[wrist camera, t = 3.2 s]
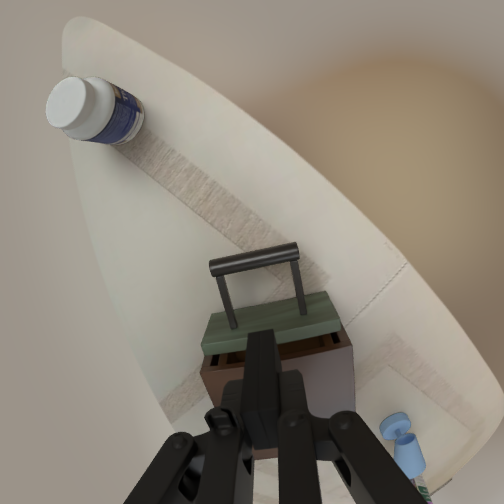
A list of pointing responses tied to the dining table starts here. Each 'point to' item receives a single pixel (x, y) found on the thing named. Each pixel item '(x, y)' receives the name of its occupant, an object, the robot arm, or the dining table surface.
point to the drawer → (268, 310)
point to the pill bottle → (94, 111)
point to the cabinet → (314, 376)
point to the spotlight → (404, 444)
